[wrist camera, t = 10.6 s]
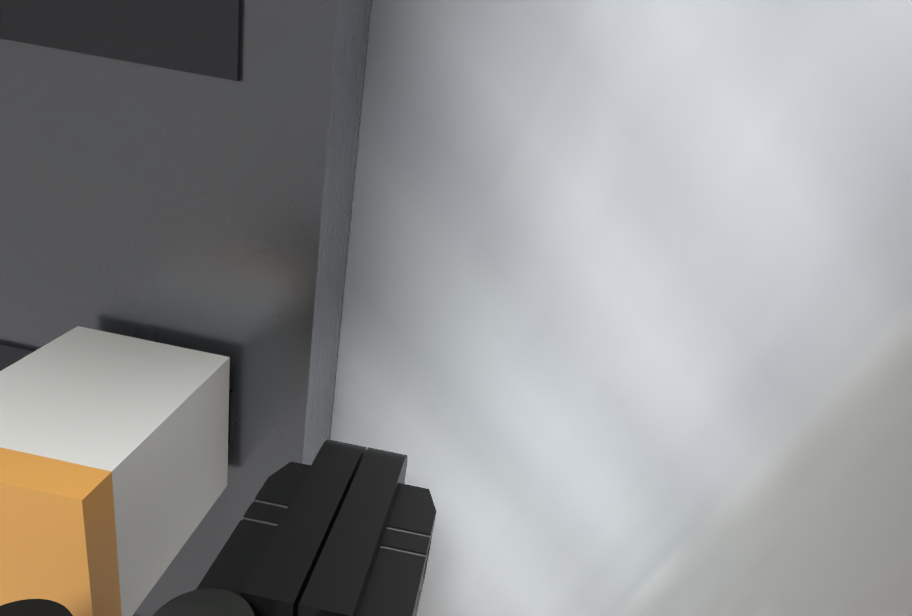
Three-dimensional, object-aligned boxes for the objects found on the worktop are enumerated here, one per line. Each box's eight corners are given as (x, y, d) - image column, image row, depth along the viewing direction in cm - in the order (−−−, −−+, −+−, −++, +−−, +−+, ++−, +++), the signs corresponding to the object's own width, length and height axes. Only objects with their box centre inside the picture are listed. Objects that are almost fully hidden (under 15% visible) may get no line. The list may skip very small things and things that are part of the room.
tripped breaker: (229, 356, 12) (81, 500, 8) (227, 485, 13) (96, 663, 9) (77, 325, 12) (-139, 452, 8) (88, 455, 13) (-97, 618, 9)
